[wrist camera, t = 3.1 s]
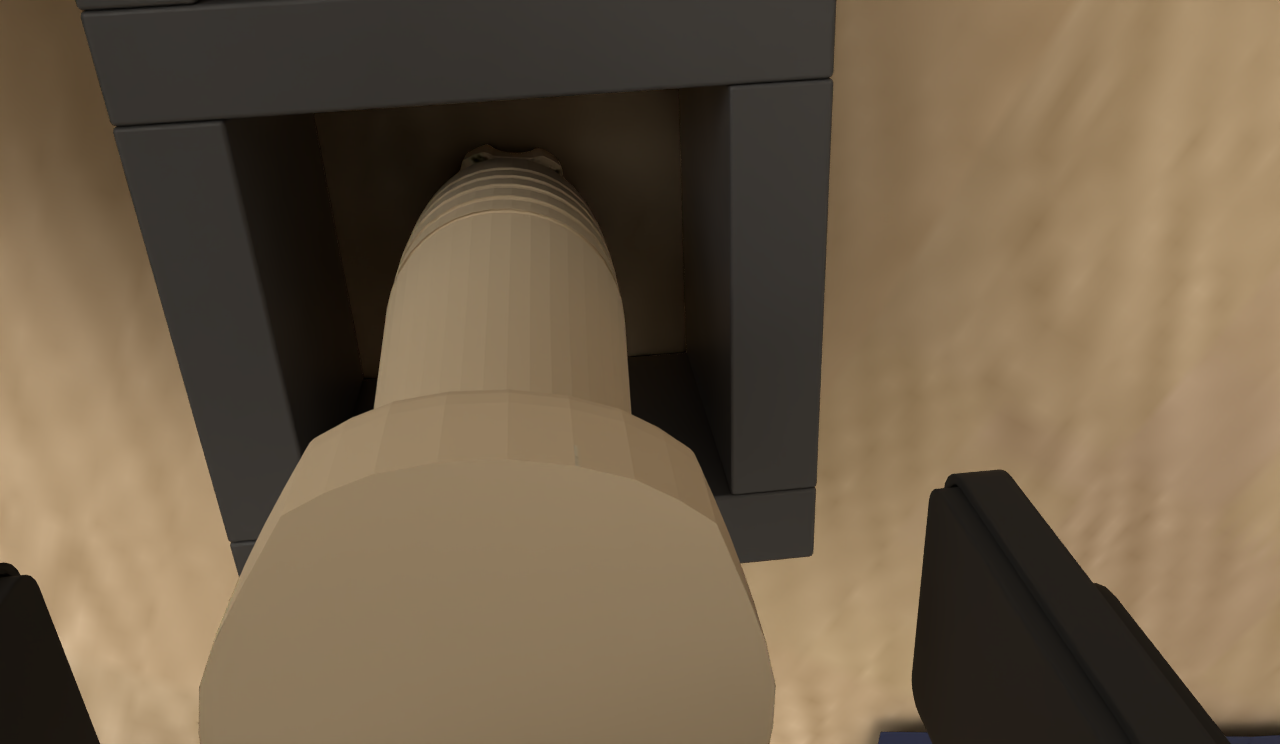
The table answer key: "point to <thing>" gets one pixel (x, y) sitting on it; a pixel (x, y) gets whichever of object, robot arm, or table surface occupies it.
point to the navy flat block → (920, 740)
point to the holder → (463, 73)
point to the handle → (494, 520)
